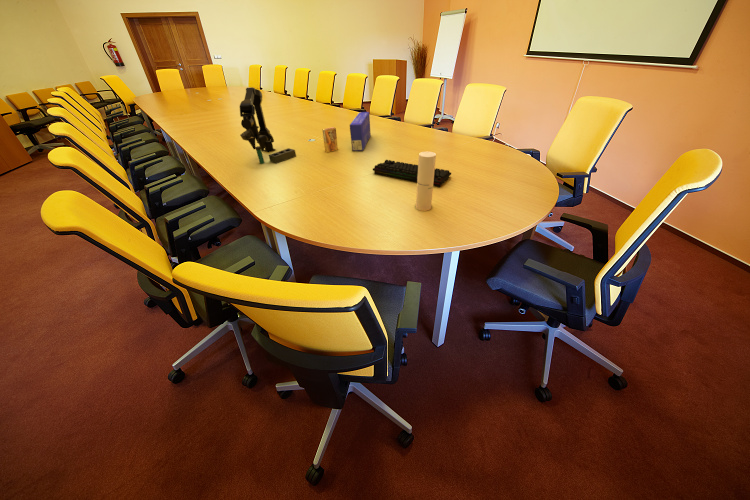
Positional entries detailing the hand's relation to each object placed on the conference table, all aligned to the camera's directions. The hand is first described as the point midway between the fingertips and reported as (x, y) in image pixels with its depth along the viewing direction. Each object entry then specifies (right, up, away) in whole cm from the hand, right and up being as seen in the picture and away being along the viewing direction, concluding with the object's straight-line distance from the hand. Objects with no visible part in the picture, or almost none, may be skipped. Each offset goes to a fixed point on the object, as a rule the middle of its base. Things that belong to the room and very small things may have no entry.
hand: (258, 150), depth 188 cm
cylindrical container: (+99, -45, -52) cm, 120 cm away
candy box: (+45, +7, +22) cm, 50 cm away
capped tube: (0, -7, +5) cm, 8 cm away
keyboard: (+97, -22, -21) cm, 102 cm away
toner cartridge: (+66, +17, +33) cm, 76 cm away
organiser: (+13, -2, +10) cm, 17 cm away
